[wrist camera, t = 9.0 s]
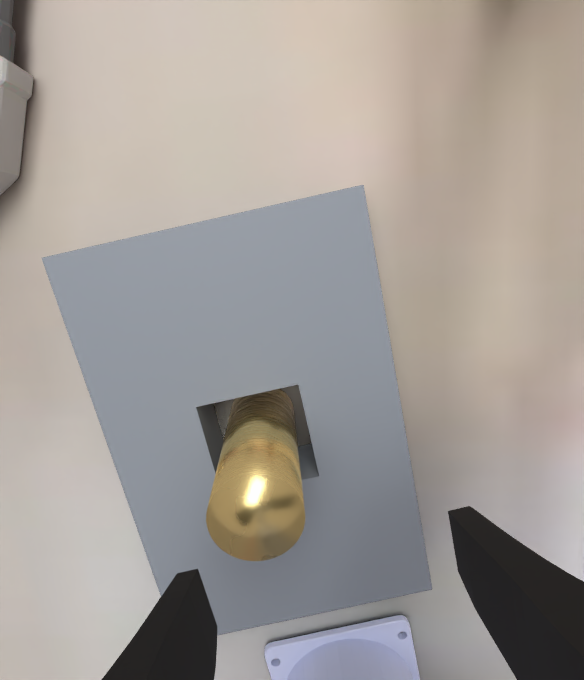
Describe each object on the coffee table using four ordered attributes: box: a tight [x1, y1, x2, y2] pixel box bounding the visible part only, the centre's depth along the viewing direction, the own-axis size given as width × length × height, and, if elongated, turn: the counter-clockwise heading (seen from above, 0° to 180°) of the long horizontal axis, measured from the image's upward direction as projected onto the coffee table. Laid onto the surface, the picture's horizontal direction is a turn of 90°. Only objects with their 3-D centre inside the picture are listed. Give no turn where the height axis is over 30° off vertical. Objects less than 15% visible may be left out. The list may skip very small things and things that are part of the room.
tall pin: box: [206, 389, 305, 561], centre depth 17 cm, size 3×3×8 cm
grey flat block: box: [42, 185, 432, 635], centre depth 20 cm, size 18×12×3 cm, turn 12°
